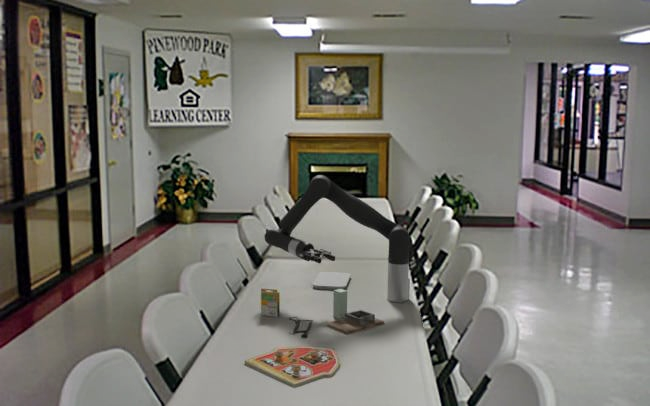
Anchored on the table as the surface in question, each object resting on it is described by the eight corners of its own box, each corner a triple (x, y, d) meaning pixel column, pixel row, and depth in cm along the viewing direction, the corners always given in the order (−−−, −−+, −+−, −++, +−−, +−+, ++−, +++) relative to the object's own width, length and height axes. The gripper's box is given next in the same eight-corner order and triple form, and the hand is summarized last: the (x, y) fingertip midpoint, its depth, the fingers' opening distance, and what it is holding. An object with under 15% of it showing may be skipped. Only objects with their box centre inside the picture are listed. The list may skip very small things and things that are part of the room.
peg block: (340, 314, 279) (340, 288, 277) (346, 316, 276) (347, 290, 274) (333, 316, 276) (333, 290, 275) (339, 318, 273) (339, 292, 272)
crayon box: (279, 314, 277) (279, 288, 275) (277, 317, 274) (277, 289, 272) (263, 313, 279) (263, 286, 277) (260, 315, 276) (260, 288, 274)
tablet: (351, 277, 339) (351, 273, 339) (345, 291, 314) (345, 286, 313) (320, 276, 341) (320, 271, 341) (311, 289, 316) (311, 285, 316)
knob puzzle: (241, 364, 226) (241, 351, 225) (304, 342, 247) (304, 331, 246) (298, 390, 206) (298, 377, 205) (362, 365, 226) (363, 352, 225)
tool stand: (364, 316, 276) (364, 306, 276) (384, 323, 267) (384, 313, 267) (327, 325, 264) (327, 316, 263) (347, 334, 255) (347, 324, 254)
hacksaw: (306, 339, 250) (306, 335, 250) (279, 338, 251) (279, 334, 251) (314, 318, 273) (314, 315, 273) (289, 317, 275) (289, 314, 274)
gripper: (290, 242, 283) (317, 253, 273) (313, 239, 294) (340, 249, 283) (288, 258, 285) (314, 270, 274) (311, 255, 295) (337, 266, 285)
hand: (327, 260), depth 279 cm, fingers open, 8 cm apart
